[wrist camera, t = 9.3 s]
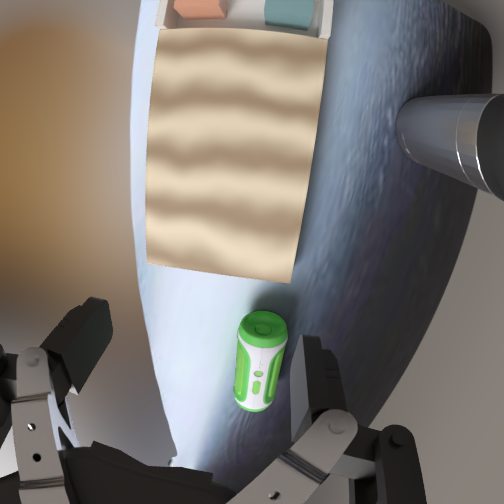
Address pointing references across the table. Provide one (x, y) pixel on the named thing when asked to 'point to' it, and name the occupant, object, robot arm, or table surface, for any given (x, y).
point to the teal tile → (289, 13)
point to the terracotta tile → (201, 9)
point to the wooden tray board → (231, 149)
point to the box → (247, 18)
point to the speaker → (259, 359)
